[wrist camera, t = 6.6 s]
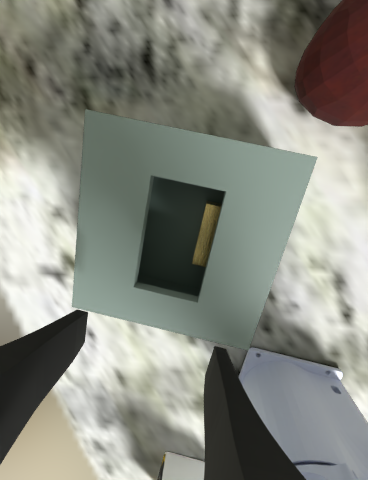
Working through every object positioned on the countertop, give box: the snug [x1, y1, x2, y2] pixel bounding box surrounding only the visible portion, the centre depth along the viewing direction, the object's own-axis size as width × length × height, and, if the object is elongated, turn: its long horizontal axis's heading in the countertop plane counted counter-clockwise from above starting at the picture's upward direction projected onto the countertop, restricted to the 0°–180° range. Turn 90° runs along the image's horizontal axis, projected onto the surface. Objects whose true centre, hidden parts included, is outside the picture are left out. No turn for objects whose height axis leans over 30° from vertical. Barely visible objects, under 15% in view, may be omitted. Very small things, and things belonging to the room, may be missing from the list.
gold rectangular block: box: [192, 201, 222, 267], centre depth 18 cm, size 2×5×4 cm
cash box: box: [72, 109, 317, 350], centre depth 17 cm, size 13×13×6 cm
